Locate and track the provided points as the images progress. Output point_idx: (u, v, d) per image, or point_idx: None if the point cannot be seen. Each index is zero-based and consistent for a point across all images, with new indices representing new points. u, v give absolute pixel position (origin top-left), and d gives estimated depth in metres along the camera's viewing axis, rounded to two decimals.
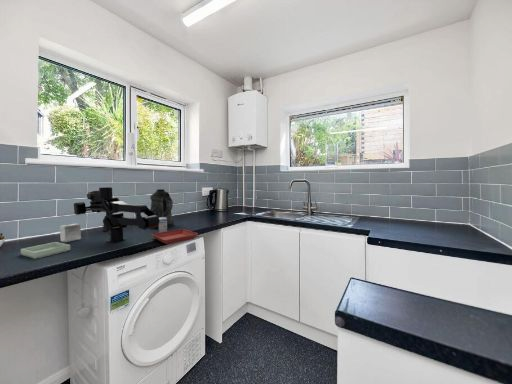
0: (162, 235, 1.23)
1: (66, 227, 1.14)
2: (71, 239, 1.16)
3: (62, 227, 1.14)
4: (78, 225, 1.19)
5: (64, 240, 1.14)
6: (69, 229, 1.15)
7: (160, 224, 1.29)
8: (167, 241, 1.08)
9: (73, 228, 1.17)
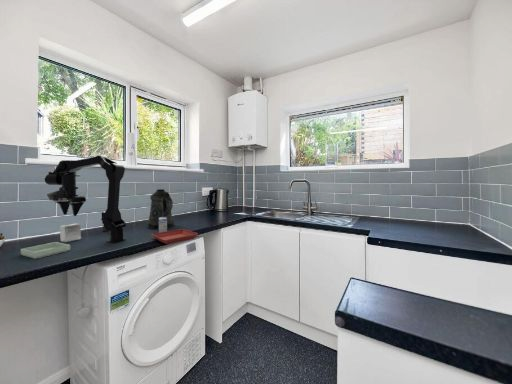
0: (162, 235, 1.23)
1: (66, 227, 1.14)
2: (71, 239, 1.16)
3: (62, 227, 1.14)
4: (78, 225, 1.19)
5: (64, 240, 1.14)
6: (69, 229, 1.15)
7: (160, 224, 1.29)
8: (167, 241, 1.08)
9: (73, 228, 1.17)
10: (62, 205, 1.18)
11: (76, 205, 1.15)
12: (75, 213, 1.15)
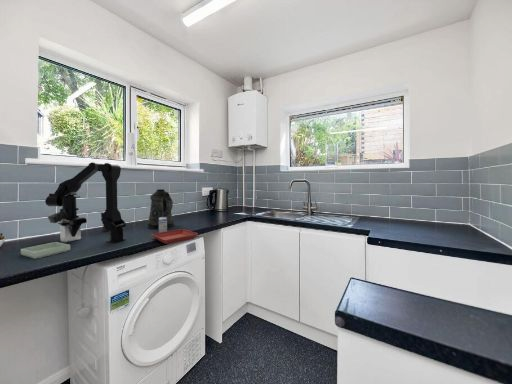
0: (162, 235, 1.23)
1: (66, 227, 1.14)
2: (71, 239, 1.16)
3: (62, 227, 1.14)
4: None
5: (64, 240, 1.14)
6: (69, 229, 1.15)
7: (160, 224, 1.29)
8: (167, 241, 1.08)
9: None
10: None
11: (74, 226, 1.16)
12: (73, 234, 1.16)
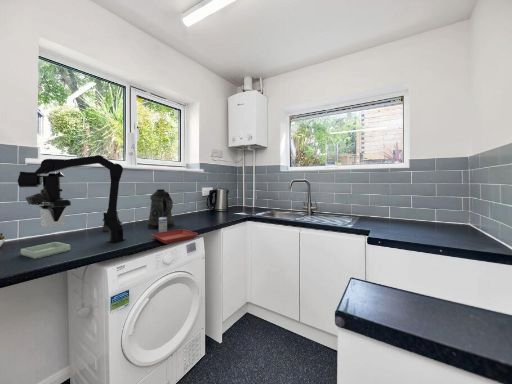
0: (162, 235, 1.23)
1: (47, 210, 0.99)
2: (53, 224, 1.01)
3: (43, 210, 1.00)
4: None
5: (45, 225, 0.99)
6: (51, 212, 1.00)
7: (160, 224, 1.29)
8: (167, 241, 1.08)
9: None
10: None
11: (57, 209, 1.01)
12: (56, 218, 1.02)
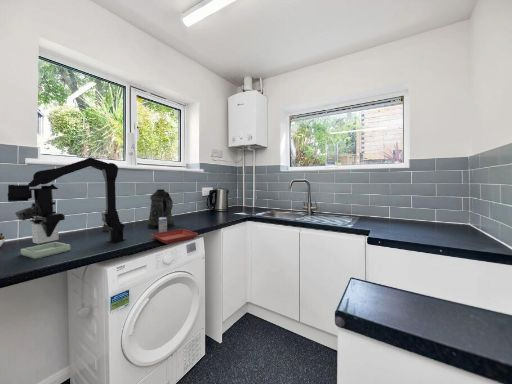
0: (162, 235, 1.23)
1: (39, 225, 0.93)
2: (46, 240, 0.95)
3: (34, 225, 0.93)
4: None
5: (36, 241, 0.93)
6: (43, 227, 0.94)
7: (160, 224, 1.29)
8: (167, 241, 1.08)
9: None
10: None
11: (50, 224, 0.95)
12: (49, 234, 0.96)
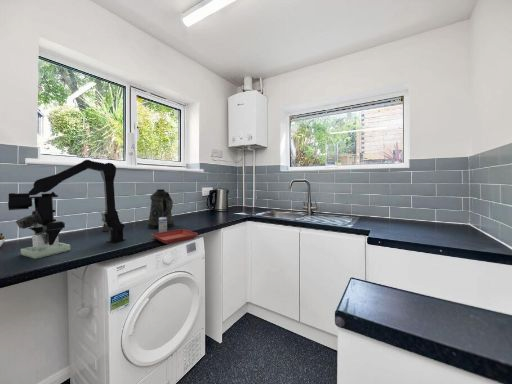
0: (162, 235, 1.23)
1: (39, 236, 0.93)
2: None
3: (35, 236, 0.94)
4: None
5: None
6: (43, 238, 0.95)
7: (160, 224, 1.29)
8: (167, 241, 1.08)
9: None
10: (37, 232, 0.98)
11: (52, 232, 0.95)
12: (51, 242, 0.95)
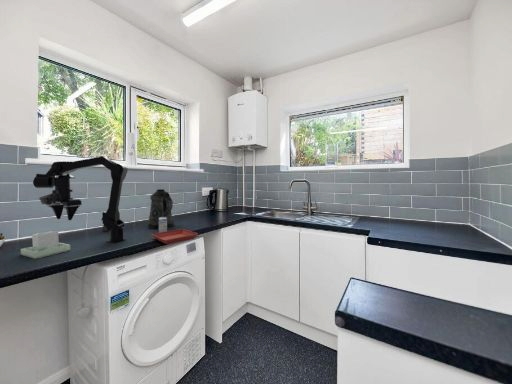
0: (162, 235, 1.23)
1: (39, 236, 0.93)
2: None
3: (35, 236, 0.94)
4: (55, 233, 0.98)
5: None
6: (43, 238, 0.95)
7: (160, 224, 1.29)
8: (167, 241, 1.08)
9: (49, 237, 0.96)
10: (55, 209, 1.11)
11: (71, 209, 1.08)
12: (70, 217, 1.08)
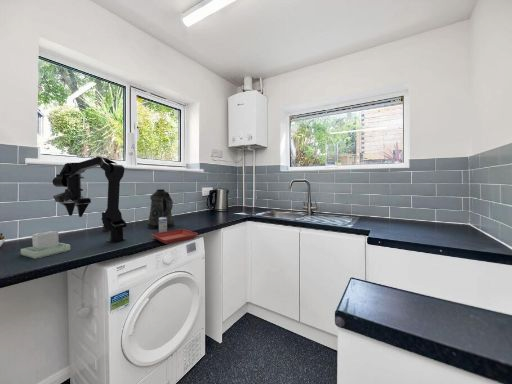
0: (162, 235, 1.23)
1: (39, 236, 0.93)
2: None
3: (35, 236, 0.94)
4: (55, 233, 0.98)
5: None
6: (43, 238, 0.95)
7: (160, 224, 1.29)
8: (167, 241, 1.08)
9: (49, 237, 0.96)
10: (67, 206, 1.21)
11: (81, 206, 1.18)
12: (80, 214, 1.18)
